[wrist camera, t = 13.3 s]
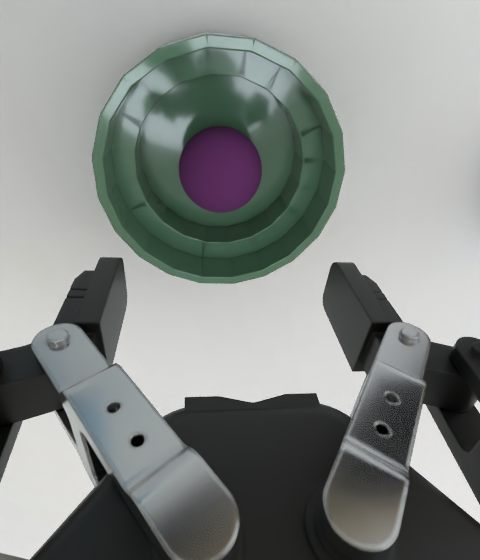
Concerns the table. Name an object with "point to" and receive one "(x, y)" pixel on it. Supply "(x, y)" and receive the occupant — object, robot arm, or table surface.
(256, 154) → the ball
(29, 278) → the table surface
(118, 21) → the table surface
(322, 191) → the bowl
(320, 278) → the table surface
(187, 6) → the table surface
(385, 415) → the robot arm
